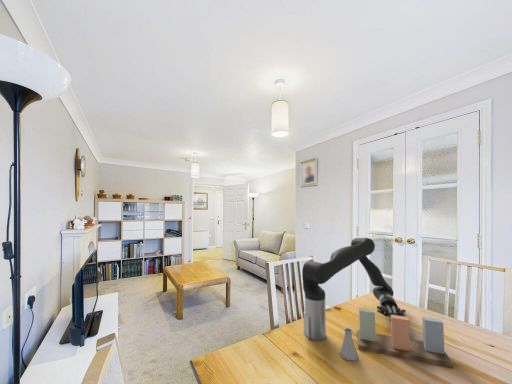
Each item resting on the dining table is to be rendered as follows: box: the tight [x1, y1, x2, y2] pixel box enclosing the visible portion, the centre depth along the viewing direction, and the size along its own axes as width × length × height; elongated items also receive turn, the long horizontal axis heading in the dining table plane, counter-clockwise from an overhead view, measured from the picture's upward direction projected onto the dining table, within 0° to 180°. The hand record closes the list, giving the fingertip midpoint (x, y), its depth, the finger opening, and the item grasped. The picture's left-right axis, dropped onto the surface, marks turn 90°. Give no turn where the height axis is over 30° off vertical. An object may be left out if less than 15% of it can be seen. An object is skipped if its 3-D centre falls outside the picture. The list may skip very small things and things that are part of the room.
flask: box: [338, 327, 359, 362], centre depth 94 cm, size 7×7×10 cm
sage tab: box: [358, 307, 376, 342], centre depth 102 cm, size 6×3×12 cm, turn 70°
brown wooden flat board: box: [356, 329, 454, 369], centre depth 98 cm, size 32×12×2 cm, turn 70°
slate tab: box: [422, 316, 445, 354], centre depth 94 cm, size 6×3×12 cm, turn 70°
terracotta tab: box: [390, 315, 411, 351], centre depth 96 cm, size 6×3×12 cm, turn 70°
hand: (394, 319), depth 106 cm, fingers closed
